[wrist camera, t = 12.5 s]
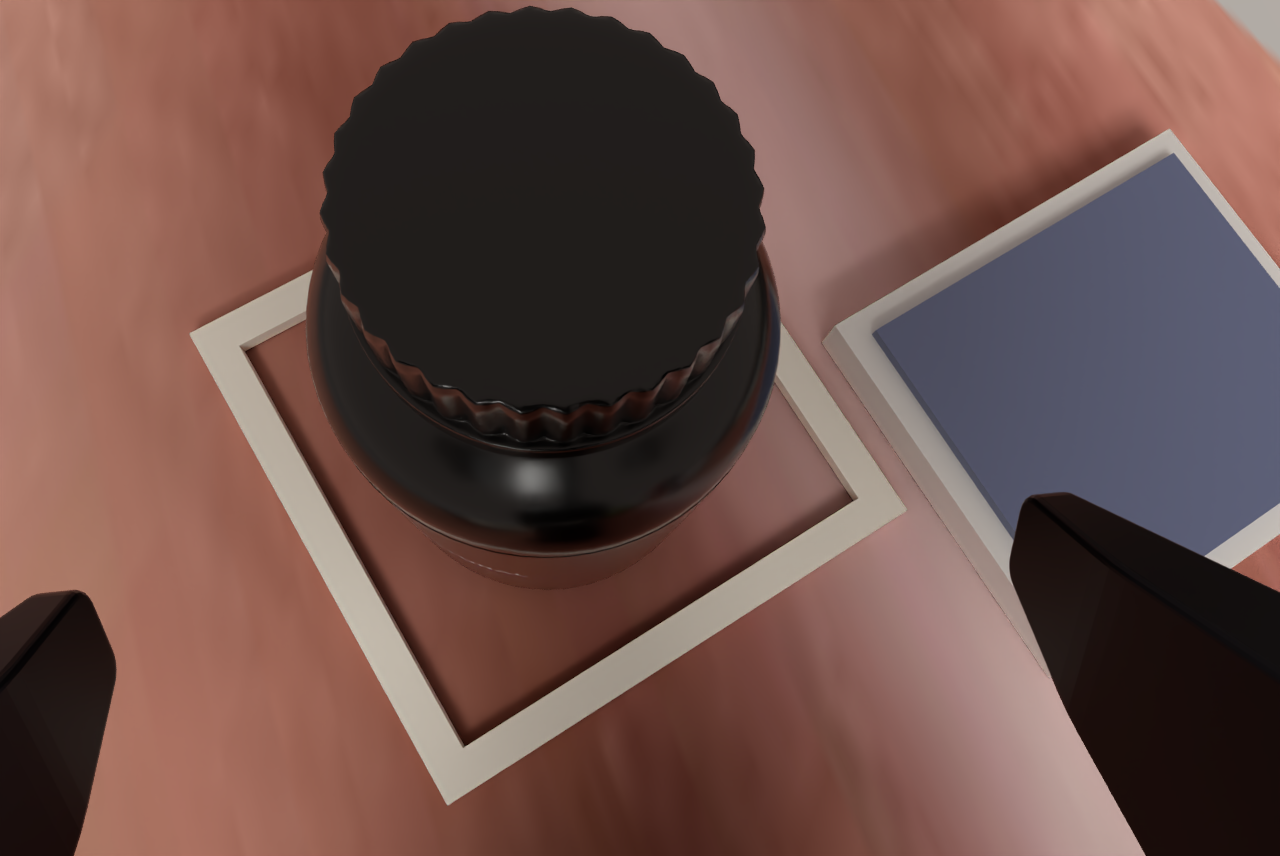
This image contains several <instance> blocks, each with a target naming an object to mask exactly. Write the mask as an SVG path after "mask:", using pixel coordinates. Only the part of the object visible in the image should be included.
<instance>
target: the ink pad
mask: <svg viewBox="0 0 1280 856" xmlns="http://www.w3.org/2000/svg"><path fill="white" fill-rule="evenodd" d="M822 344H823V346H824V347H825V349H826V350H827V352H828V353H829V354H830V356H831V357H832V359H833V360H834V362H835V363H836V365H837V366H838V368H839V369H840V371H841V372H842V374H843V375H844V377H845V378H846V380H847V381H848V383H849V384H850V385H851V387H852V388H853V390H854V391H855V393H856V394H857V396H858V397H859V399H860V400H861V402H862V403H863V405H864V406H865V408H866V409H867V411H868V412H869V414H870V415H871V417H872V418H873V419H874V421H875V422H876V424H877V425H878V427H879V428H880V430H881V431H882V433H883V434H884V436H885V437H886V439H887V440H888V442H889V443H890V445H891V446H892V448H893V449H894V450H895V452H896V453H897V455H898V456H899V458H900V459H901V461H902V462H903V464H904V465H905V467H906V468H907V470H908V471H909V473H910V474H911V476H912V477H913V479H914V480H915V482H916V483H917V484H918V486H919V487H920V489H921V490H922V492H923V493H924V495H925V496H926V498H927V499H928V501H929V502H930V504H931V505H932V507H933V508H934V510H935V511H936V513H937V514H938V515H939V517H940V518H941V520H942V521H943V523H944V524H945V526H946V527H947V529H948V530H949V532H950V533H951V535H952V536H953V538H954V539H955V541H956V542H957V544H958V545H959V546H960V548H961V549H962V551H963V552H964V554H965V555H966V557H967V558H968V560H969V561H970V563H971V564H972V566H973V567H974V569H975V570H976V572H977V573H978V575H979V576H980V578H981V579H982V580H983V582H984V583H985V585H986V586H987V588H988V589H989V591H990V592H991V594H992V595H993V597H994V598H995V600H996V601H997V603H998V604H999V606H1000V607H1001V609H1002V610H1003V611H1004V613H1005V614H1006V616H1007V617H1008V619H1009V620H1010V622H1011V623H1012V625H1013V626H1014V628H1015V629H1016V631H1017V632H1018V634H1019V635H1020V637H1021V638H1022V640H1023V641H1024V643H1025V644H1026V645H1027V647H1028V648H1029V650H1030V651H1031V653H1032V654H1033V656H1034V657H1035V659H1036V660H1037V662H1038V663H1039V665H1040V666H1041V668H1042V669H1043V671H1044V672H1045V674H1046V675H1047V676H1048V678H1052V677H1051V675H1050V672H1049V670H1048V668H1047V665H1046V663H1045V660H1044V658H1043V656H1042V653H1041V651H1040V648H1039V646H1038V644H1037V641H1036V639H1035V637H1034V634H1033V632H1032V629H1031V627H1030V625H1029V622H1028V620H1027V617H1026V615H1025V613H1024V610H1023V608H1022V605H1021V603H1020V601H1019V598H1018V596H1017V594H1016V591H1015V589H1014V586H1013V584H1012V581H1011V577H1010V571H1009V559H1010V554H1011V549H1012V544H1013V540H1014V535H1015V531H1016V526H1017V522H1018V517H1019V513H1020V509H1021V506H1022V503H1023V502H1024V500H1025V499H1026V498H1027V497H1029V496H1031V495H1034V494H1044V493H1053V492H1069V493H1072V494H1074V495H1076V496H1079V497H1081V498H1083V499H1085V500H1087V501H1089V502H1091V503H1093V504H1095V505H1097V506H1100V507H1102V508H1104V509H1106V510H1108V511H1110V512H1112V513H1114V514H1116V515H1118V516H1121V517H1123V518H1125V519H1127V520H1129V521H1131V522H1133V523H1135V524H1137V525H1139V526H1142V527H1144V528H1146V529H1148V530H1150V531H1152V532H1154V533H1156V534H1158V535H1160V536H1163V537H1165V538H1167V539H1169V540H1171V541H1173V542H1175V543H1177V544H1179V545H1181V546H1184V547H1186V548H1188V549H1190V550H1192V551H1194V552H1196V553H1198V554H1200V555H1202V556H1205V557H1207V558H1209V559H1211V560H1213V561H1215V562H1217V563H1219V564H1221V565H1223V566H1226V567H1228V568H1230V569H1231V568H1232V567H1234V566H1235V565H1237V564H1238V563H1239V562H1241V561H1242V560H1244V559H1245V558H1247V557H1248V556H1249V555H1251V554H1252V553H1254V552H1255V551H1256V550H1258V549H1259V548H1261V547H1262V546H1263V545H1265V544H1266V543H1268V542H1269V541H1270V540H1272V539H1273V538H1275V537H1276V536H1277V535H1279V534H1280V269H1279V267H1278V266H1277V265H1276V263H1275V262H1274V261H1273V260H1272V258H1271V257H1270V256H1269V255H1268V253H1267V252H1266V251H1265V249H1264V248H1263V247H1262V246H1261V244H1260V243H1259V242H1258V241H1257V239H1256V238H1255V237H1254V235H1253V234H1252V233H1251V232H1250V230H1249V229H1248V228H1247V226H1246V225H1245V224H1244V223H1243V221H1242V220H1241V219H1240V218H1239V216H1238V215H1237V214H1236V212H1235V211H1234V210H1233V209H1232V207H1231V206H1230V205H1229V204H1228V202H1227V201H1226V200H1225V198H1224V197H1223V196H1222V195H1221V193H1220V192H1219V191H1218V189H1217V188H1216V187H1215V186H1214V184H1213V183H1212V182H1211V181H1210V179H1209V178H1208V177H1207V175H1206V174H1205V173H1204V172H1203V170H1202V169H1201V168H1200V167H1199V165H1198V164H1197V163H1196V161H1195V160H1194V159H1193V158H1192V156H1191V155H1190V154H1189V152H1188V151H1187V150H1186V149H1185V147H1184V146H1183V145H1182V144H1181V142H1180V141H1179V140H1178V138H1177V137H1176V136H1175V135H1174V133H1173V132H1172V131H1171V130H1170V129H1168V130H1166V131H1164V132H1163V133H1161V134H1159V135H1158V136H1156V137H1154V138H1153V139H1151V140H1149V141H1147V142H1146V143H1144V144H1142V145H1141V146H1139V147H1137V148H1136V149H1134V150H1132V151H1130V152H1129V153H1127V154H1125V155H1124V156H1122V157H1120V158H1119V159H1117V160H1115V161H1113V162H1112V163H1110V164H1108V165H1107V166H1105V167H1103V168H1102V169H1100V170H1098V171H1096V172H1095V173H1093V174H1091V175H1090V176H1088V177H1086V178H1085V179H1083V180H1081V181H1080V182H1078V183H1076V184H1074V185H1073V186H1071V187H1069V188H1068V189H1066V190H1064V191H1063V192H1061V193H1059V194H1057V195H1056V196H1054V197H1052V198H1051V199H1049V200H1047V201H1046V202H1044V203H1042V204H1040V205H1039V206H1037V207H1035V208H1034V209H1032V210H1030V211H1029V212H1027V213H1025V214H1023V215H1022V216H1020V217H1018V218H1017V219H1015V220H1013V221H1012V222H1010V223H1008V224H1006V225H1005V226H1003V227H1001V228H1000V229H998V230H996V231H995V232H993V233H991V234H989V235H988V236H986V237H984V238H983V239H981V240H979V241H978V242H976V243H974V244H972V245H971V246H969V247H967V248H966V249H964V250H962V251H961V252H959V253H957V254H955V255H954V256H952V257H950V258H949V259H947V260H945V261H944V262H942V263H940V264H939V265H937V266H935V267H933V268H932V269H930V270H928V271H927V272H925V273H923V274H922V275H920V276H918V277H916V278H915V279H913V280H911V281H910V282H908V283H906V284H905V285H903V286H901V287H899V288H898V289H896V290H894V291H893V292H891V293H889V294H888V295H886V296H884V297H882V298H881V299H879V300H877V301H876V302H874V303H872V304H871V305H869V306H867V307H865V308H864V309H862V310H860V311H859V312H857V313H855V314H854V315H852V316H850V317H848V318H847V319H845V320H843V321H842V322H840V323H838V324H837V325H835V326H834V327H833V329H832V330H831V331H830V332H829V334H828V335H827V336H826V338H825V339H824V340H823V341H822Z"/></svg>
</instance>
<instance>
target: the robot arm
mask: <svg viewBox="0 0 1280 856" xmlns="http://www.w3.org/2000/svg"><path fill="white" fill-rule="evenodd" d="M1009 571H1010V577H1011V581H1012V584H1013V586H1014V589H1015V591H1016V594H1017V596H1018V598H1019V601H1020V603H1021V605H1022V608H1023V610H1024V613H1025V615H1026V617H1027V620H1028V622H1029V625H1030V627H1031V629H1032V632H1033V634H1034V637H1035V639H1036V641H1037V644H1038V646H1039V648H1040V651H1041V653H1042V656H1043V658H1044V660H1045V663H1046V665H1047V668H1048V670H1049V672H1050V675H1051V677H1052V680H1053V682H1054V684H1055V687H1056V689H1057V691H1058V694H1059V696H1060V698H1061V700H1062V702H1063V705H1064V707H1065V709H1066V711H1067V713H1068V715H1069V717H1070V719H1071V721H1072V723H1073V725H1074V727H1075V728H1076V730H1077V732H1078V734H1079V736H1080V738H1081V740H1082V741H1083V743H1084V745H1085V747H1086V749H1087V750H1088V752H1089V754H1090V756H1091V758H1092V759H1093V761H1094V763H1095V765H1096V767H1097V768H1098V770H1099V772H1100V774H1101V776H1102V777H1103V779H1104V781H1105V783H1106V785H1107V786H1108V788H1109V790H1110V792H1111V794H1112V795H1113V797H1114V799H1115V801H1116V803H1117V804H1118V806H1119V808H1120V810H1121V812H1122V814H1123V815H1124V817H1125V819H1126V821H1127V823H1128V824H1129V826H1130V828H1131V830H1132V832H1133V833H1134V835H1135V837H1136V839H1137V841H1138V842H1139V844H1140V846H1141V848H1142V850H1143V851H1144V853H1145V855H1146V856H1280V592H1278V591H1276V590H1274V589H1272V588H1270V587H1268V586H1266V585H1263V584H1261V583H1259V582H1257V581H1255V580H1253V579H1251V578H1249V577H1247V576H1244V575H1242V574H1240V573H1238V572H1236V571H1234V570H1232V569H1230V568H1228V567H1226V566H1223V565H1221V564H1219V563H1217V562H1215V561H1213V560H1211V559H1209V558H1207V557H1205V556H1202V555H1200V554H1198V553H1196V552H1194V551H1192V550H1190V549H1188V548H1186V547H1184V546H1181V545H1179V544H1177V543H1175V542H1173V541H1171V540H1169V539H1167V538H1165V537H1163V536H1160V535H1158V534H1156V533H1154V532H1152V531H1150V530H1148V529H1146V528H1144V527H1142V526H1139V525H1137V524H1135V523H1133V522H1131V521H1129V520H1127V519H1125V518H1123V517H1121V516H1118V515H1116V514H1114V513H1112V512H1110V511H1108V510H1106V509H1104V508H1102V507H1100V506H1097V505H1095V504H1093V503H1091V502H1089V501H1087V500H1085V499H1083V498H1081V497H1079V496H1076V495H1074V494H1072V493H1069V492H1053V493H1044V494H1034V495H1031V496H1029V497H1027V498H1026V499H1025V500H1024V502H1023V503H1022V506H1021V509H1020V513H1019V517H1018V522H1017V526H1016V531H1015V535H1014V540H1013V544H1012V549H1011V554H1010V559H1009ZM115 681H116V660H115V656H114V653H113V650H112V647H111V645H110V643H109V640H108V638H107V636H106V633H105V631H104V629H103V626H102V624H101V622H100V619H99V617H98V614H97V612H96V610H95V607H94V605H93V603H92V601H91V599H90V598H89V597H88V596H87V595H86V593H84V592H82V591H79V590H69V591H59V592H49V593H40V594H36V595H33V596H31V597H29V598H28V599H26V600H25V601H23V602H22V603H20V604H19V605H18V606H16V607H15V608H13V609H12V610H11V611H9V612H8V613H6V614H5V615H3V616H2V617H1V618H0V856H74V853H75V850H76V847H77V844H78V841H79V838H80V835H81V831H82V827H83V823H84V819H85V815H86V812H87V808H88V803H89V799H90V794H91V790H92V785H93V781H94V776H95V772H96V767H97V763H98V758H99V754H100V749H101V744H102V740H103V735H104V731H105V726H106V722H107V717H108V713H109V708H110V704H111V699H112V695H113V690H114V686H115Z"/></svg>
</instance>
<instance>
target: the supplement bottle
mask: <svg viewBox="0 0 1280 856" xmlns="http://www.w3.org/2000/svg"><path fill="white" fill-rule="evenodd" d="M334 151H335V153H334V155H333V157H332V159H331V160H330V161H329V162H328V164H327V165H326V167H325V169H324V171H323V179H324V184H325V188H326V191H327V195H326V198H325V200H324V202H323V204H322V207H321V210H320V220H321V222H322V225H323V227H324V229H325V231H326V235H325V237H324V239H323V241H322V243H321V246H320V249H319V252H318V255H317V257H316V260H315V263H314V267H313V271H312V276H311V280H310V284H309V291H308V298H307V306H306V341H307V353H308V360H309V365H310V370H311V375H312V379H313V383H314V386H315V389H316V393H317V396H318V399H319V402H320V404H321V406H322V409H323V411H324V413H325V416H326V418H327V420H328V422H329V424H330V426H331V428H332V430H333V431H334V433H335V435H336V437H337V439H338V440H339V442H340V444H341V445H342V447H343V448H344V450H345V451H346V453H347V454H348V456H349V457H350V458H351V460H352V461H353V463H354V464H355V466H356V467H357V468H358V469H359V471H360V472H361V473H362V474H363V475H364V476H365V477H366V479H367V480H368V481H369V482H370V483H371V484H372V485H373V487H374V488H375V489H376V490H377V491H379V492H380V493H381V494H382V495H383V496H384V497H385V498H386V499H387V500H388V501H389V502H390V503H391V504H392V505H393V506H394V507H396V508H397V509H398V510H399V511H400V512H401V513H402V514H403V515H404V516H405V517H406V518H407V519H408V520H409V521H410V522H412V523H413V524H414V525H415V526H416V527H417V528H418V529H419V530H420V531H421V532H422V533H423V534H424V535H425V536H426V537H428V538H429V539H430V540H431V541H432V542H433V543H434V544H435V545H436V546H437V547H438V548H439V549H440V550H442V551H443V552H444V553H446V554H447V555H448V556H450V557H451V558H452V559H454V560H455V561H457V562H458V563H460V564H461V565H463V566H465V567H466V568H468V569H469V570H471V571H473V572H475V573H477V574H479V575H482V576H484V577H486V578H489V579H491V580H494V581H497V582H500V583H503V584H507V585H511V586H515V587H521V588H528V589H542V590H552V589H566V588H573V587H579V586H583V585H587V584H591V583H595V582H597V581H600V580H603V579H606V578H609V577H611V576H613V575H615V574H617V573H619V572H621V571H623V570H625V569H627V568H628V567H630V566H631V565H633V564H635V563H636V562H638V561H639V560H640V559H642V558H643V557H644V556H646V555H647V554H648V553H650V552H651V551H652V550H654V549H655V548H656V547H657V546H658V545H659V544H660V543H661V542H662V541H663V540H664V539H665V538H666V537H667V536H668V535H669V534H670V533H671V532H672V531H673V530H674V529H675V528H676V527H677V526H678V525H679V524H680V523H681V522H682V521H683V520H684V519H685V518H686V517H687V516H688V515H689V514H690V513H691V512H692V511H693V510H694V509H695V508H696V507H697V506H698V505H699V504H700V503H701V502H702V501H703V500H704V499H705V498H706V497H707V496H708V495H709V494H710V493H711V492H712V491H713V489H714V488H715V487H716V486H717V485H718V484H719V483H720V482H721V480H722V479H723V478H724V477H725V476H726V475H727V474H728V473H729V471H730V470H731V469H732V467H733V466H734V464H735V463H736V462H737V460H738V459H739V457H740V456H741V455H742V453H743V452H744V450H745V448H746V447H747V445H748V443H749V441H750V440H751V438H752V436H753V434H754V433H755V431H756V429H757V427H758V425H759V423H760V421H761V418H762V416H763V414H764V412H765V409H766V407H767V404H768V401H769V398H770V395H771V392H772V389H773V386H774V381H775V377H776V372H777V367H778V361H779V352H780V339H781V318H780V307H779V297H778V292H777V287H776V281H775V276H774V273H773V270H772V266H771V263H770V260H769V256H768V254H767V251H766V249H765V247H764V244H763V242H762V240H763V238H764V235H765V231H766V227H765V223H764V220H763V217H762V215H761V212H760V206H761V203H762V199H763V195H764V187H763V185H762V183H761V181H760V179H759V177H758V175H757V174H756V172H755V170H754V162H755V150H754V149H753V147H752V146H751V145H750V143H749V142H748V141H747V140H746V139H745V138H744V137H743V136H742V134H741V131H740V123H739V119H738V115H737V113H735V112H734V111H733V110H732V109H731V108H730V107H728V106H727V105H725V104H724V103H723V102H722V101H721V99H720V96H719V93H718V91H717V89H716V87H715V84H714V82H712V81H711V80H709V79H708V78H706V77H704V76H701V75H700V74H698V73H696V72H695V71H694V69H693V67H692V66H691V64H690V63H689V61H688V60H687V58H686V57H685V56H684V55H683V54H680V53H678V52H676V51H673V50H670V49H667V48H664V47H663V46H662V45H661V44H660V43H659V41H658V40H657V39H656V38H655V37H654V36H652V35H651V34H650V33H648V32H644V31H639V30H631V29H628V28H627V27H626V26H625V25H623V24H622V23H621V22H619V21H618V20H616V19H615V18H613V17H608V16H599V17H593V16H589V15H586V14H584V13H583V12H581V11H579V10H576V9H574V8H564V9H559V10H554V11H547V10H543V9H541V8H538V7H533V6H528V7H525V8H522V9H519V10H516V11H514V12H511V13H507V12H499V11H488V12H486V13H484V14H482V15H480V16H479V17H477V18H475V19H474V20H472V21H469V22H453V23H449V24H447V25H446V26H445V27H444V28H442V29H441V30H440V31H439V32H438V33H437V34H436V35H435V36H433V37H430V38H425V39H420V40H417V41H413V42H412V43H411V44H410V45H409V47H408V48H407V49H406V50H405V52H404V53H403V55H402V56H401V58H399V59H397V60H395V61H392V62H389V63H387V64H385V65H383V66H381V67H380V69H379V70H378V72H377V74H376V76H375V79H374V81H373V84H372V85H371V86H369V87H368V88H366V89H365V90H363V91H362V92H361V93H359V94H358V95H357V96H355V97H354V99H353V103H352V106H351V112H350V117H349V118H348V120H347V121H346V122H345V123H344V124H342V125H341V126H340V127H339V128H338V130H337V131H336V132H335V133H334Z"/></svg>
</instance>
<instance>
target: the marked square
mask: <svg viewBox="0 0 1280 856" xmlns="http://www.w3.org/2000/svg"><path fill="white" fill-rule="evenodd" d="M312 271H313V270H311V271H310V272H308V273H306V274H304V275H302V276H300V277H298V278H296V279H294V280H292V281H290V282H288V283H286V284H284V285H282V286H280V287H278V288H276V289H274V290H273V291H271V292H269V293H267V294H265V295H263V296H261V297H259V298H257V299H255V300H253V301H251V302H249V303H247V304H245V305H243V306H241V307H239V308H237V309H236V310H234V311H232V312H230V313H228V314H226V315H224V316H222V317H220V318H218V319H216V320H214V321H212V322H210V323H208V324H206V325H204V326H202V327H200V328H199V329H197V330H195V331H193V332H191V333H189V334H190V336H191V338H192V340H193V342H194V343H195V345H196V347H197V349H198V351H199V353H200V354H201V356H202V358H203V360H204V362H205V364H206V365H207V367H208V369H209V371H210V373H211V375H212V376H213V378H214V380H215V382H216V384H217V385H218V387H219V389H220V391H221V393H222V395H223V396H224V398H225V400H226V402H227V404H228V406H229V407H230V409H231V411H232V413H233V415H234V417H235V418H236V420H237V422H238V424H239V426H240V428H241V429H242V431H243V433H244V435H245V437H246V438H247V440H248V442H249V444H250V446H251V448H252V449H253V451H254V453H255V455H256V457H257V459H258V460H259V462H260V464H261V466H262V468H263V470H264V471H265V473H266V475H267V477H268V479H269V481H270V482H271V484H272V486H273V488H274V490H275V491H276V493H277V495H278V497H279V499H280V501H281V502H282V504H283V506H284V508H285V510H286V512H287V513H288V515H289V517H290V519H291V521H292V523H293V524H294V526H295V528H296V530H297V532H298V534H299V535H300V537H301V539H302V541H303V543H304V544H305V546H306V548H307V550H308V552H309V554H310V555H311V557H312V559H313V561H314V563H315V565H316V566H317V568H318V570H319V572H320V574H321V576H322V577H323V579H324V581H325V583H326V585H327V587H328V588H329V590H330V592H331V594H332V596H333V597H334V599H335V601H336V603H337V605H338V607H339V608H340V610H341V612H342V614H343V616H344V618H345V619H346V621H347V623H348V625H349V627H350V629H351V630H352V632H353V634H354V636H355V638H356V640H357V641H358V643H359V645H360V647H361V649H362V650H363V652H364V654H365V656H366V658H367V660H368V661H369V663H370V665H371V667H372V669H373V671H374V672H375V674H376V676H377V678H378V680H379V682H380V683H381V685H382V687H383V689H384V691H385V693H386V694H387V696H388V698H389V700H390V702H391V703H392V705H393V707H394V709H395V711H396V713H397V714H398V716H399V718H400V720H401V722H402V724H403V725H404V727H405V729H406V731H407V733H408V735H409V736H410V738H411V740H412V742H413V744H414V746H415V747H416V749H417V751H418V753H419V755H420V756H421V758H422V760H423V762H424V764H425V766H426V767H427V769H428V771H429V773H430V775H431V777H432V778H433V780H434V782H435V784H436V786H437V788H438V789H439V791H440V793H441V795H442V797H443V799H444V800H445V802H446V804H447V806H448V805H449V804H451V803H453V802H454V801H456V800H457V799H459V798H460V797H462V796H463V795H465V794H467V793H468V792H470V791H471V790H473V789H474V788H476V787H478V786H479V785H481V784H482V783H484V782H485V781H487V780H488V779H490V778H492V777H493V776H495V775H496V774H498V773H499V772H501V771H502V770H504V769H506V768H507V767H509V766H510V765H512V764H513V763H515V762H516V761H518V760H520V759H521V758H523V757H524V756H526V755H527V754H529V753H530V752H532V751H534V750H535V749H537V748H538V747H540V746H541V745H543V744H544V743H546V742H548V741H549V740H551V739H552V738H554V737H555V736H557V735H558V734H560V733H562V732H563V731H565V730H566V729H568V728H569V727H571V726H572V725H574V724H576V723H577V722H579V721H580V720H582V719H583V718H585V717H586V716H588V715H590V714H591V713H593V712H594V711H596V710H597V709H599V708H600V707H602V706H604V705H605V704H607V703H608V702H610V701H611V700H613V699H614V698H616V697H618V696H619V695H621V694H622V693H624V692H625V691H627V690H628V689H630V688H632V687H633V686H635V685H636V684H638V683H639V682H641V681H642V680H644V679H646V678H647V677H649V676H650V675H652V674H653V673H655V672H657V671H658V670H660V669H661V668H663V667H664V666H666V665H667V664H669V663H671V662H672V661H674V660H675V659H677V658H678V657H680V656H681V655H683V654H685V653H686V652H688V651H689V650H691V649H692V648H694V647H695V646H697V645H699V644H700V643H702V642H703V641H705V640H706V639H708V638H709V637H711V636H713V635H714V634H716V633H717V632H719V631H720V630H722V629H723V628H725V627H727V626H728V625H730V624H731V623H733V622H734V621H736V620H737V619H739V618H741V617H742V616H744V615H745V614H747V613H748V612H750V611H751V610H753V609H755V608H756V607H758V606H759V605H761V604H762V603H764V602H765V601H767V600H769V599H770V598H772V597H773V596H775V595H776V594H778V593H779V592H781V591H783V590H784V589H786V588H787V587H789V586H790V585H792V584H793V583H795V582H797V581H798V580H800V579H801V578H803V577H804V576H806V575H807V574H809V573H811V572H812V571H814V570H815V569H817V568H818V567H820V566H822V565H823V564H825V563H826V562H828V561H829V560H831V559H832V558H834V557H836V556H837V555H839V554H840V553H842V552H843V551H845V550H846V549H848V548H850V547H851V546H853V545H854V544H856V543H857V542H859V541H860V540H862V539H864V538H865V537H867V536H868V535H870V534H871V533H873V532H874V531H876V530H878V529H879V528H881V527H882V526H884V525H885V524H887V523H888V522H890V521H892V520H893V519H895V518H896V517H898V516H899V515H901V514H902V513H904V512H906V511H907V509H906V507H905V506H904V504H903V503H902V501H901V500H900V498H899V497H898V495H897V494H896V492H895V491H894V489H893V488H892V486H891V485H890V483H889V482H888V480H887V479H886V477H885V476H884V474H883V473H882V471H881V470H880V468H879V467H878V465H877V464H876V462H875V461H874V459H873V458H872V456H871V455H870V453H869V452H868V451H867V449H866V448H865V446H864V445H863V443H862V442H861V440H860V439H859V437H858V436H857V434H856V433H855V431H854V430H853V428H852V427H851V425H850V424H849V422H848V421H847V419H846V418H845V416H844V415H843V413H842V412H841V410H840V409H839V407H838V406H837V404H836V403H835V401H834V400H833V398H832V397H831V395H830V394H829V392H828V391H827V389H826V388H825V386H824V385H823V384H822V382H821V381H820V379H819V378H818V376H817V375H816V373H815V372H814V370H813V369H812V367H811V366H810V364H809V363H808V361H807V360H806V358H805V357H804V355H803V354H802V352H801V351H800V349H799V348H798V346H797V345H796V343H795V342H794V340H793V339H792V337H791V336H790V334H789V333H788V331H787V330H786V328H785V327H784V325H783V324H782V322H781V339H780V352H779V361H778V367H777V372H776V377H775V381H774V382H775V383H776V385H777V386H778V388H779V389H780V391H781V392H782V394H783V395H784V397H785V398H786V400H787V402H788V403H789V405H790V406H791V408H792V409H793V411H794V412H795V414H796V415H797V417H798V418H799V420H800V421H801V423H802V424H803V426H804V427H805V429H806V430H807V432H808V433H809V435H810V436H811V438H812V439H813V441H814V442H815V444H816V445H817V447H818V448H819V450H820V451H821V453H822V454H823V456H824V457H825V459H826V460H827V462H828V463H829V465H830V466H831V468H832V469H833V471H834V473H835V474H836V476H837V477H838V479H839V480H840V482H841V483H842V485H843V486H844V488H845V489H846V491H847V492H848V494H849V495H850V497H851V498H852V500H853V502H851V503H849V504H848V505H846V506H845V507H843V508H842V509H840V510H838V511H837V512H835V513H834V514H832V515H830V516H829V517H827V518H826V519H824V520H823V521H821V522H819V523H818V524H816V525H815V526H813V527H812V528H810V529H808V530H807V531H805V532H804V533H802V534H800V535H799V536H797V537H796V538H794V539H793V540H791V541H789V542H788V543H786V544H785V545H783V546H781V547H780V548H778V549H777V550H775V551H774V552H772V553H770V554H769V555H767V556H766V557H764V558H762V559H761V560H759V561H758V562H756V563H755V564H753V565H751V566H750V567H748V568H747V569H745V570H743V571H742V572H740V573H739V574H737V575H736V576H734V577H732V578H731V579H729V580H728V581H726V582H725V583H723V584H721V585H720V586H718V587H717V588H715V589H713V590H712V591H710V592H709V593H707V594H706V595H704V596H702V597H701V598H699V599H698V600H696V601H694V602H693V603H691V604H690V605H688V606H687V607H685V608H683V609H682V610H680V611H679V612H677V613H675V614H674V615H672V616H671V617H669V618H668V619H666V620H664V621H663V622H661V623H660V624H658V625H656V626H655V627H653V628H652V629H650V630H649V631H647V632H645V633H644V634H642V635H641V636H639V637H637V638H636V639H634V640H633V641H631V642H630V643H628V644H626V645H625V646H623V647H622V648H620V649H619V650H617V651H615V652H614V653H612V654H611V655H609V656H607V657H606V658H604V659H603V660H601V661H600V662H598V663H596V664H595V665H593V666H592V667H590V668H588V669H587V670H585V671H584V672H582V673H581V674H579V675H577V676H576V677H574V678H573V679H571V680H569V681H568V682H566V683H565V684H563V685H562V686H560V687H558V688H557V689H555V690H554V691H552V692H550V693H549V694H547V695H546V696H544V697H543V698H541V699H539V700H538V701H536V702H535V703H533V704H532V705H530V706H528V707H527V708H525V709H524V710H522V711H520V712H519V713H517V714H516V715H514V716H513V717H511V718H509V719H508V720H506V721H505V722H503V723H501V724H500V725H498V726H497V727H495V728H494V729H492V730H490V731H489V732H487V733H486V734H484V735H482V736H481V737H479V738H478V739H476V740H475V741H473V742H471V743H470V744H468V745H467V746H464V744H463V742H462V740H461V739H460V737H459V735H458V733H457V731H456V730H455V728H454V726H453V724H452V722H451V721H450V719H449V717H448V715H447V714H446V712H445V710H444V708H443V706H442V705H441V703H440V701H439V699H438V697H437V696H436V694H435V692H434V690H433V688H432V687H431V685H430V683H429V681H428V679H427V678H426V676H425V674H424V672H423V670H422V669H421V667H420V665H419V663H418V661H417V660H416V658H415V656H414V654H413V652H412V651H411V649H410V647H409V645H408V643H407V642H406V640H405V638H404V636H403V634H402V633H401V631H400V629H399V627H398V625H397V624H396V622H395V620H394V618H393V617H392V615H391V613H390V611H389V609H388V608H387V606H386V604H385V602H384V600H383V599H382V597H381V595H380V593H379V591H378V590H377V588H376V586H375V584H374V582H373V581H372V579H371V577H370V575H369V573H368V572H367V570H366V568H365V566H364V564H363V563H362V561H361V559H360V557H359V555H358V554H357V552H356V550H355V548H354V546H353V545H352V543H351V541H350V539H349V537H348V536H347V534H346V532H345V530H344V528H343V527H342V525H341V523H340V521H339V520H338V518H337V516H336V514H335V512H334V511H333V509H332V507H331V505H330V503H329V502H328V500H327V498H326V496H325V494H324V493H323V491H322V489H321V487H320V485H319V484H318V482H317V480H316V478H315V476H314V475H313V473H312V471H311V469H310V467H309V466H308V464H307V462H306V460H305V458H304V457H303V455H302V453H301V451H300V449H299V448H298V446H297V444H296V442H295V440H294V439H293V437H292V435H291V433H290V431H289V430H288V428H287V426H286V424H285V423H284V421H283V419H282V417H281V415H280V414H279V412H278V410H277V408H276V406H275V405H274V403H273V401H272V399H271V397H270V396H269V394H268V392H267V390H266V388H265V387H264V385H263V383H262V381H261V379H260V378H259V376H258V374H257V372H256V370H255V369H254V367H253V365H252V363H251V361H250V360H249V358H248V356H247V354H246V352H245V351H247V350H248V349H250V348H252V347H254V346H256V345H258V344H260V343H262V342H264V341H266V340H268V339H269V338H271V337H273V336H275V335H277V334H279V333H281V332H283V331H285V330H287V329H289V328H290V327H292V326H294V325H296V324H298V323H300V322H302V321H304V320H306V306H307V298H308V291H309V284H310V280H311V276H312Z"/></svg>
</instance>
